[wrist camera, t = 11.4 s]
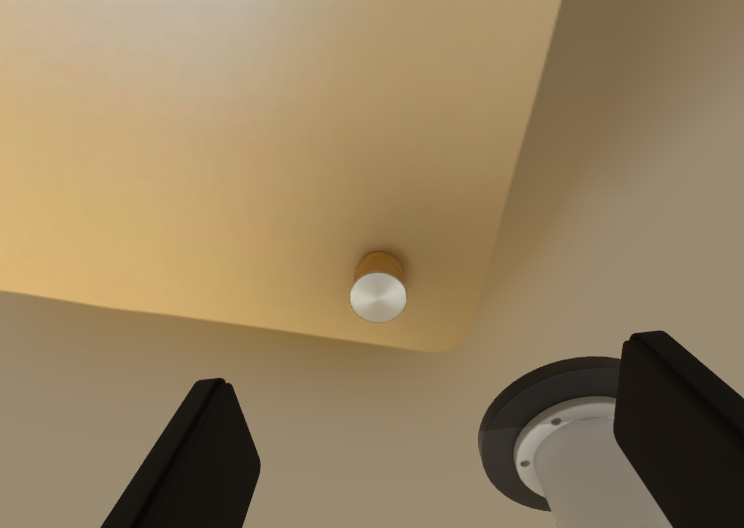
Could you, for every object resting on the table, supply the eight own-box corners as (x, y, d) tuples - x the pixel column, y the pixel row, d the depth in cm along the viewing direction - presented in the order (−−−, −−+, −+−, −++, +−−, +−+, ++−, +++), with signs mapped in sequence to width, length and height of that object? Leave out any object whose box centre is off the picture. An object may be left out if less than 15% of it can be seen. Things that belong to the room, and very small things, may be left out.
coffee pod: (400, 246, 27) (402, 268, 24) (407, 292, 28) (410, 318, 25) (348, 254, 27) (344, 277, 24) (358, 299, 29) (355, 326, 25)
